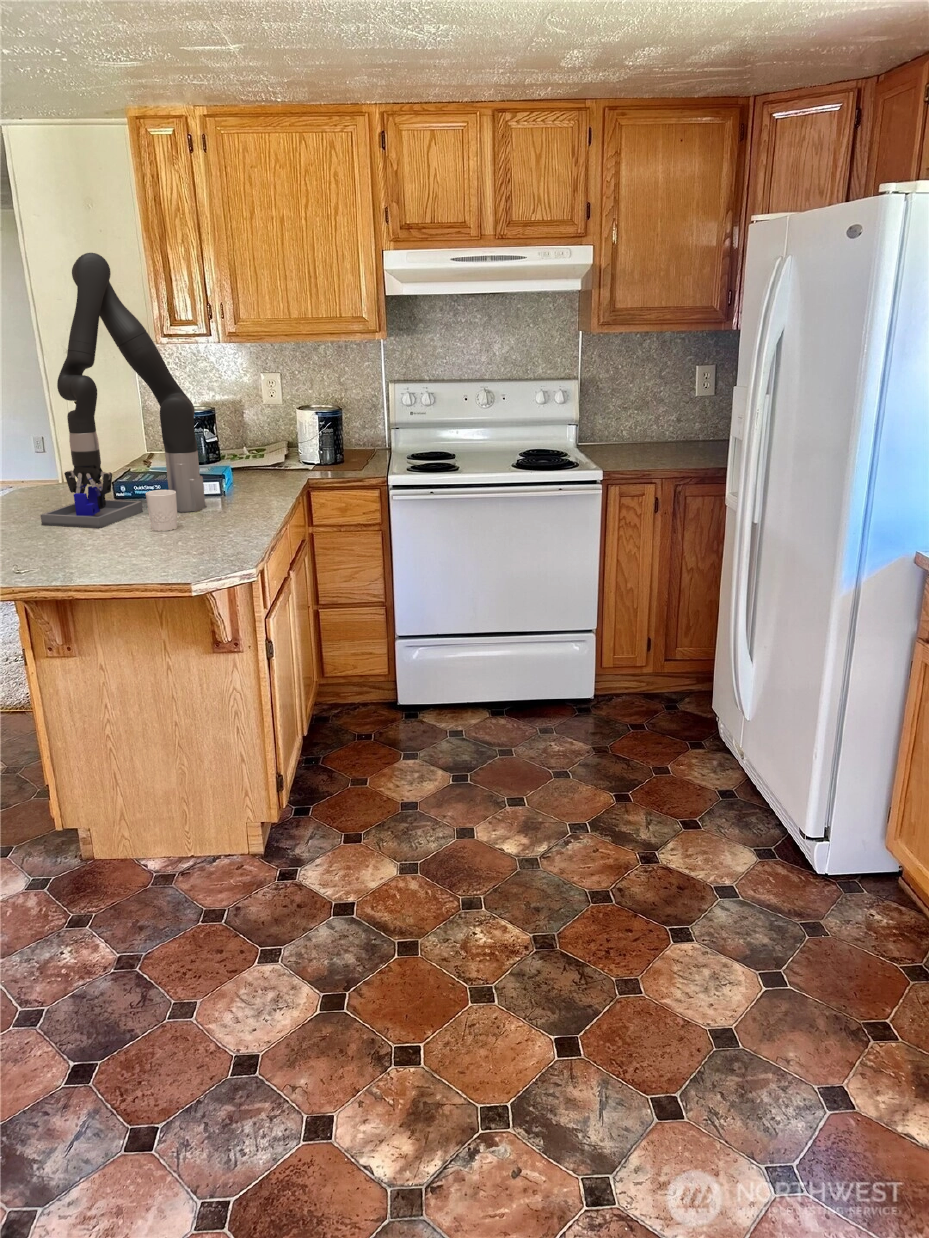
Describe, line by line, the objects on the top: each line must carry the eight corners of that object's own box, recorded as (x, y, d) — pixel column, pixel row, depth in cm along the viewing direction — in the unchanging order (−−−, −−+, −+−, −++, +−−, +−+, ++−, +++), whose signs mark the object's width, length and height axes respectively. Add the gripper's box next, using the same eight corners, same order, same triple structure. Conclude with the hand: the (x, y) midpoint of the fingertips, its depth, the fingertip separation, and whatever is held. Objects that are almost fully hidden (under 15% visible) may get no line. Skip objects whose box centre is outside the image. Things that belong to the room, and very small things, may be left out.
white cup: (185, 526, 255) (181, 490, 252) (167, 533, 248) (164, 496, 245) (161, 524, 258) (157, 489, 254) (143, 530, 251) (139, 494, 247)
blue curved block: (92, 515, 258) (89, 494, 256) (76, 515, 258) (73, 494, 256) (107, 506, 269) (105, 486, 267) (92, 506, 269) (89, 486, 267)
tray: (142, 511, 273) (141, 501, 272) (100, 528, 252) (99, 517, 251) (88, 508, 276) (86, 498, 275) (42, 525, 256) (40, 514, 255)
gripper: (115, 447, 260) (122, 506, 266) (70, 445, 263) (78, 504, 268) (100, 451, 253) (107, 512, 259) (53, 449, 256) (62, 509, 262)
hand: (92, 507), depth 264 cm, fingers closed on blue curved block, 5 cm apart
